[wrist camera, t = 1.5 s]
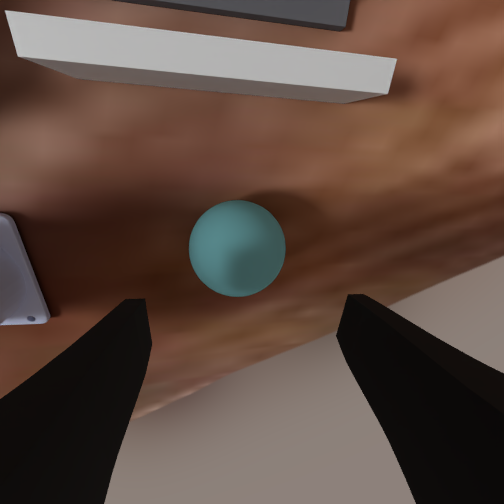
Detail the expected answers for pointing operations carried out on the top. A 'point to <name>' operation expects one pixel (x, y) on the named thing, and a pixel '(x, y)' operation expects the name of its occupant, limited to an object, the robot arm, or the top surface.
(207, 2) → the mat
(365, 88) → the wall
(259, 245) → the ball
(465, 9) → the top surface
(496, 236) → the top surface
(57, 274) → the top surface
